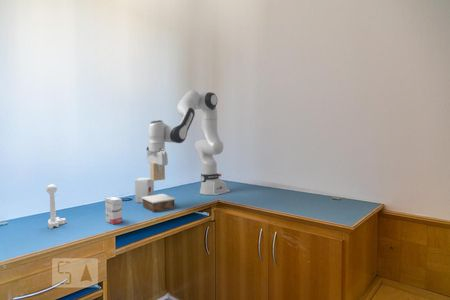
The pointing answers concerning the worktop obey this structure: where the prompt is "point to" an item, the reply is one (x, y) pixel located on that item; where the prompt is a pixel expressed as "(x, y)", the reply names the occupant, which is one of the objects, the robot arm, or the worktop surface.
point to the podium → (158, 202)
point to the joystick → (53, 209)
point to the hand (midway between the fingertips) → (157, 171)
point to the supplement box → (143, 188)
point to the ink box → (113, 210)
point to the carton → (156, 172)
